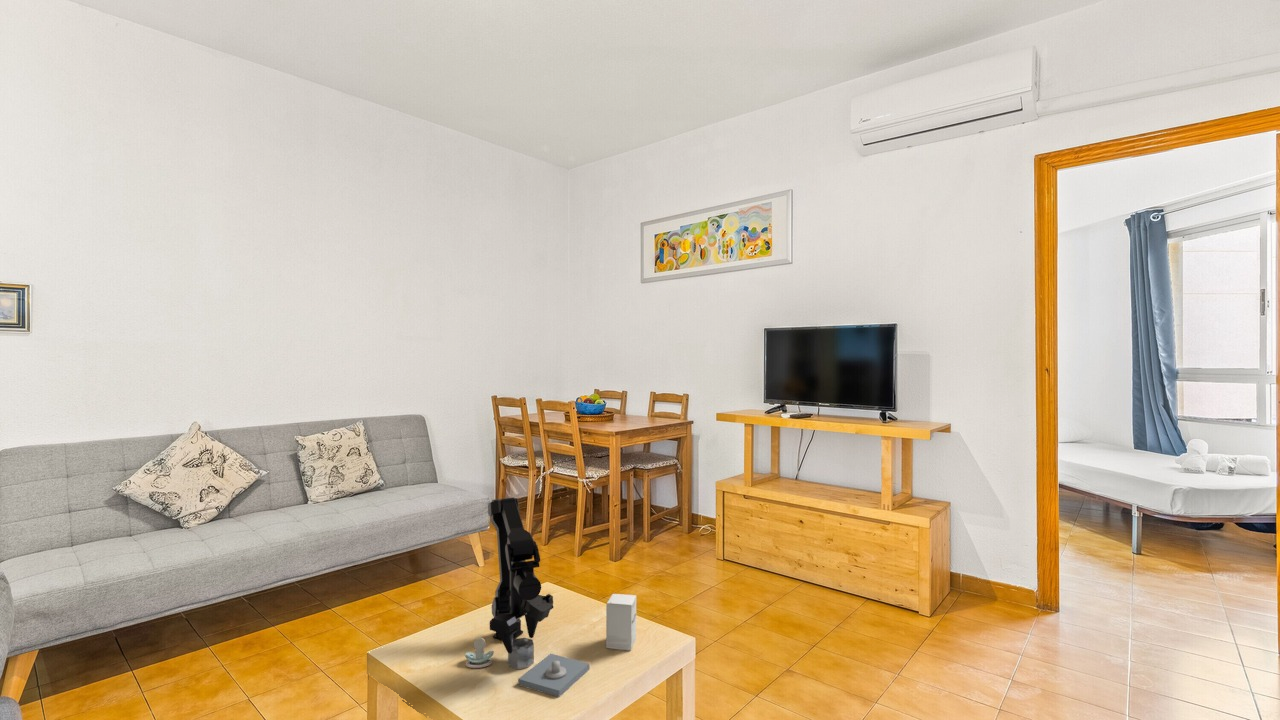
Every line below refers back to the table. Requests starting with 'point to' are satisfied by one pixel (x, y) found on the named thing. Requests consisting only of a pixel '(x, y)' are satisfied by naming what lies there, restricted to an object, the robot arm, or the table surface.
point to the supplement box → (621, 621)
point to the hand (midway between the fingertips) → (520, 645)
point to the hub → (521, 653)
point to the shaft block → (554, 674)
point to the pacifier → (479, 655)
